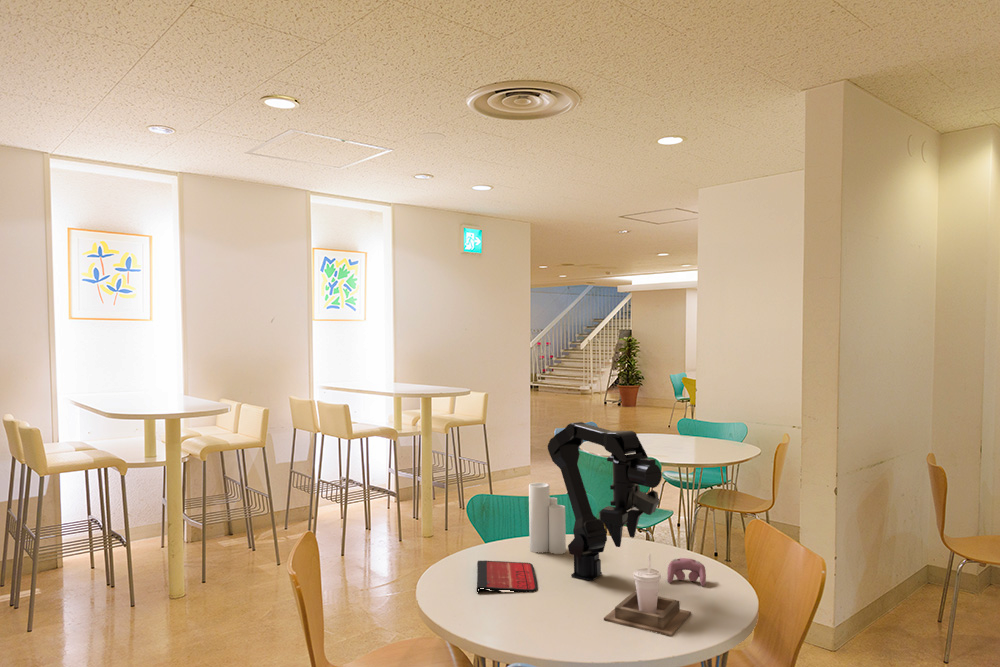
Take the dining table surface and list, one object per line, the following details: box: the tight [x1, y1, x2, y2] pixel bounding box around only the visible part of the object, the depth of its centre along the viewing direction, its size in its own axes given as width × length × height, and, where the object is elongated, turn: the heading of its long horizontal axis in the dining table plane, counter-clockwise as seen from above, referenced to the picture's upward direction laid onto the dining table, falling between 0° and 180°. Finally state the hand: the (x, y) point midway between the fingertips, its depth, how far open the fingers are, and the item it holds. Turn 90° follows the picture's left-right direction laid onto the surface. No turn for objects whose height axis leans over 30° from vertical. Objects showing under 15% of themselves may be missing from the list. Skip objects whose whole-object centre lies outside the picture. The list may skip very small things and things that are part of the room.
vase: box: [528, 482, 567, 555], centre depth 205 cm, size 11×7×20 cm, turn 79°
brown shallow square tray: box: [603, 591, 692, 637], centre depth 155 cm, size 16×14×3 cm
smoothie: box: [632, 553, 662, 614], centre depth 155 cm, size 6×6×14 cm
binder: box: [476, 560, 538, 593], centre depth 181 cm, size 16×2×21 cm
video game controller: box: [666, 557, 707, 587], centre depth 177 cm, size 10×5×7 cm, turn 71°
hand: (625, 542), depth 170 cm, fingers open, 9 cm apart
